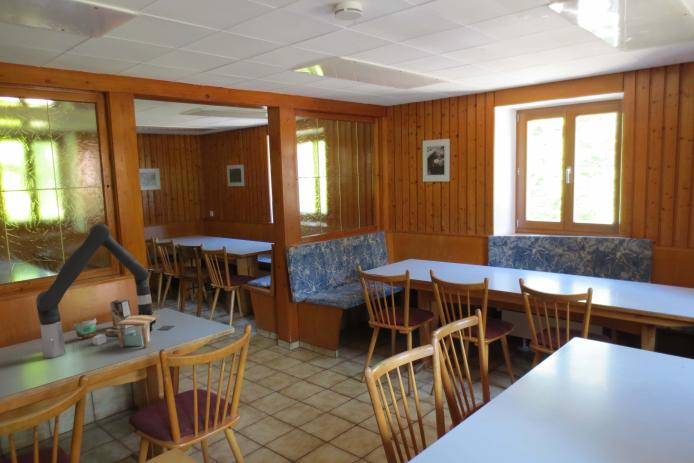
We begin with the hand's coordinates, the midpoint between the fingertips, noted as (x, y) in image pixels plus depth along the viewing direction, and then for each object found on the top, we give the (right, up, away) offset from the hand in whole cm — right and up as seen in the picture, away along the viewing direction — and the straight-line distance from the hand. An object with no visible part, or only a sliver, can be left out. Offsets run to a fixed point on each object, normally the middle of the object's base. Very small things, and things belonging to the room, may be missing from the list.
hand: (147, 331), depth 282 cm
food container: (-32, -3, -2) cm, 33 cm away
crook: (+2, -2, -10) cm, 10 cm away
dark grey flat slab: (+8, +1, +7) cm, 10 cm away
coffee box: (-21, 0, +15) cm, 26 cm away
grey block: (-21, -4, -12) cm, 25 cm away
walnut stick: (-19, -2, 0) cm, 19 cm away
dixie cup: (+4, -3, -15) cm, 15 cm away
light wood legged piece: (+3, -3, -17) cm, 17 cm away
